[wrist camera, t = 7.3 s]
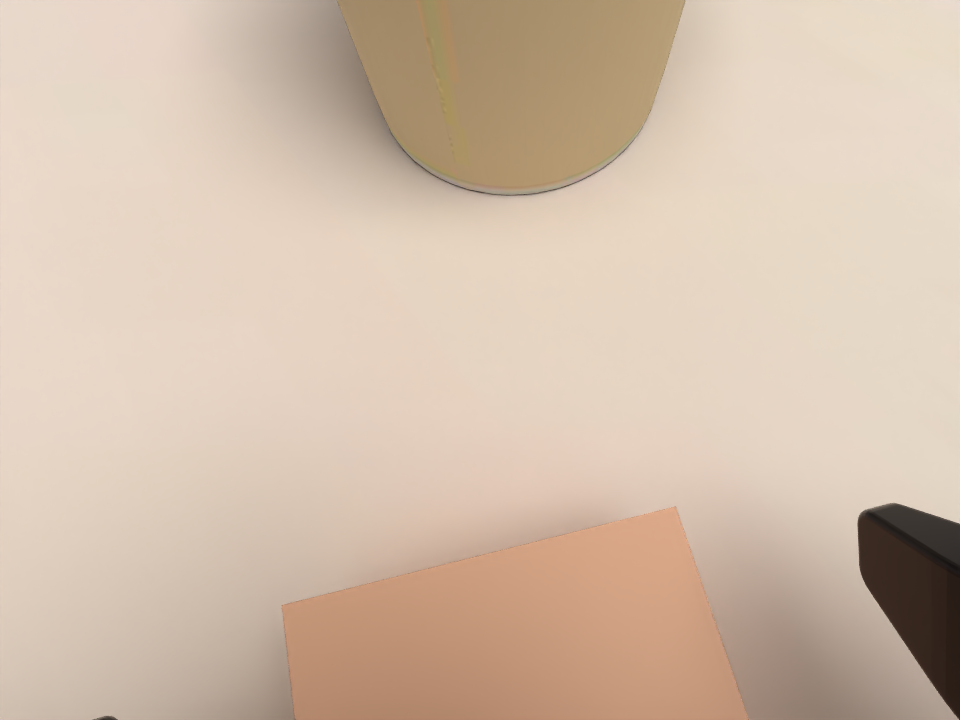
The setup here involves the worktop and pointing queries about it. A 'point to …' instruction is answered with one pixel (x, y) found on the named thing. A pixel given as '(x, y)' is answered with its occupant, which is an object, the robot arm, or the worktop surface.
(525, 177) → the beige lidded tub
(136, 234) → the worktop surface
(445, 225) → the worktop surface
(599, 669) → the rectangular block
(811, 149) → the worktop surface
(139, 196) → the worktop surface
